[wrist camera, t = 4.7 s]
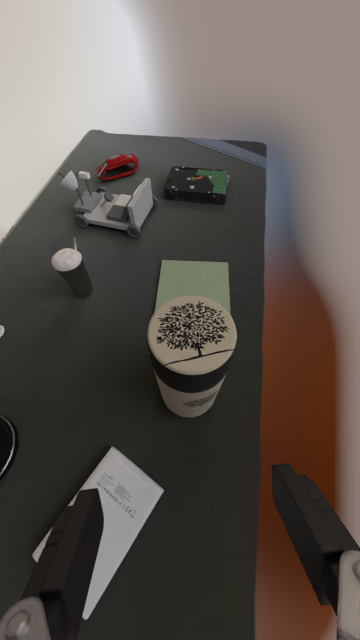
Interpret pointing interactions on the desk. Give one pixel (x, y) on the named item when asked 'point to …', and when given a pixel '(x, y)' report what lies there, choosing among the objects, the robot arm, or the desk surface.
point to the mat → (194, 281)
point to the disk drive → (197, 185)
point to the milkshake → (73, 270)
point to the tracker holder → (114, 163)
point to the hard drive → (116, 516)
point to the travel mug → (191, 352)
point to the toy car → (111, 205)
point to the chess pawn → (1, 330)
